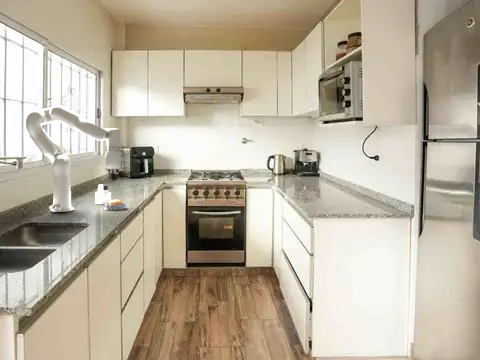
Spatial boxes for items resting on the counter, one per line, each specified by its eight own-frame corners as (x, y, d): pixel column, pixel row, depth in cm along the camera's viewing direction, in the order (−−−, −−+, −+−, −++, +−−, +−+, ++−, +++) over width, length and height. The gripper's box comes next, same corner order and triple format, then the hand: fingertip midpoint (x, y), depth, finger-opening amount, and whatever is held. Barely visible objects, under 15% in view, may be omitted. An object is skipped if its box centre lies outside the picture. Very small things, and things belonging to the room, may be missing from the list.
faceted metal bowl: (119, 210, 275) (119, 205, 274) (100, 209, 277) (100, 204, 277) (129, 207, 287) (129, 202, 286) (110, 206, 290) (110, 201, 289)
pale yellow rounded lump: (117, 208, 278) (117, 201, 278) (106, 208, 280) (106, 201, 279) (123, 206, 285) (123, 200, 284) (112, 206, 286) (112, 199, 286)
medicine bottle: (104, 202, 309) (104, 184, 308) (111, 203, 304) (111, 184, 303) (95, 203, 303) (94, 184, 302) (101, 204, 299) (101, 185, 298)
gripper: (128, 149, 281) (128, 180, 282) (105, 148, 284) (106, 179, 286) (122, 149, 273) (122, 181, 275) (99, 149, 277) (99, 180, 279)
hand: (114, 180), depth 281 cm, fingers closed
